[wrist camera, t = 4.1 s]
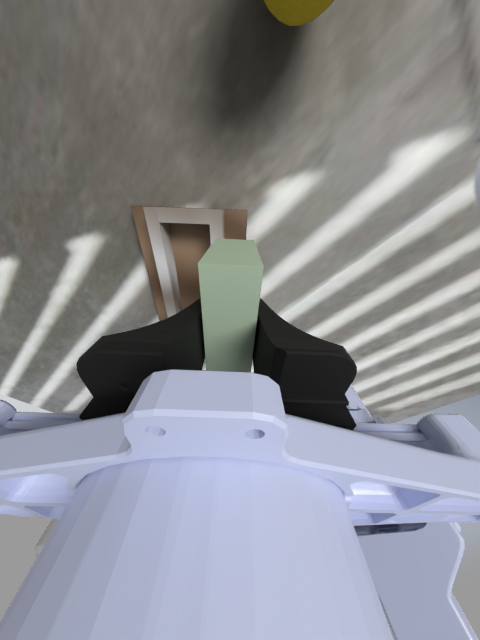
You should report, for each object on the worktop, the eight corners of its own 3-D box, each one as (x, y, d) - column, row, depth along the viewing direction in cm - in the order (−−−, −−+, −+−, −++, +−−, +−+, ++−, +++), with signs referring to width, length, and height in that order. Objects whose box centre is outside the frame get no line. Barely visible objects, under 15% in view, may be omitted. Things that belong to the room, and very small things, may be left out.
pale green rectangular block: (245, 334, 16) (247, 393, 11) (218, 333, 16) (208, 392, 11) (253, 240, 12) (263, 266, 7) (216, 238, 12) (197, 262, 7)
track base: (240, 344, 25) (240, 359, 22) (169, 342, 25) (161, 357, 22) (246, 210, 16) (247, 211, 13) (136, 205, 16) (116, 205, 13)
